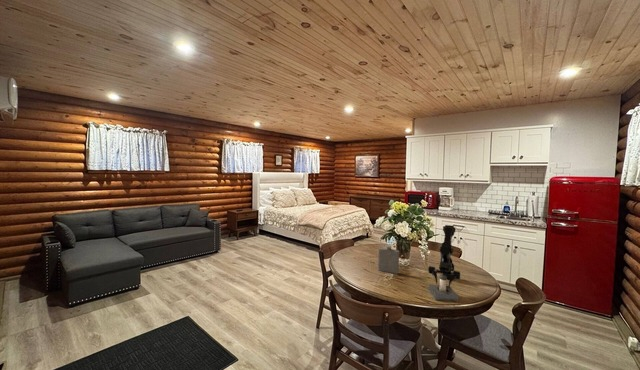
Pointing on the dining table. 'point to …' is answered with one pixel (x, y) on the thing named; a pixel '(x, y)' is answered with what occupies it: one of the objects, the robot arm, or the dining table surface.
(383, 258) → the hip flask
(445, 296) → the gray rectangular frame
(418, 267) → the dining table surface
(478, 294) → the dining table surface
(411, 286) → the dining table surface
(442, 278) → the plug
